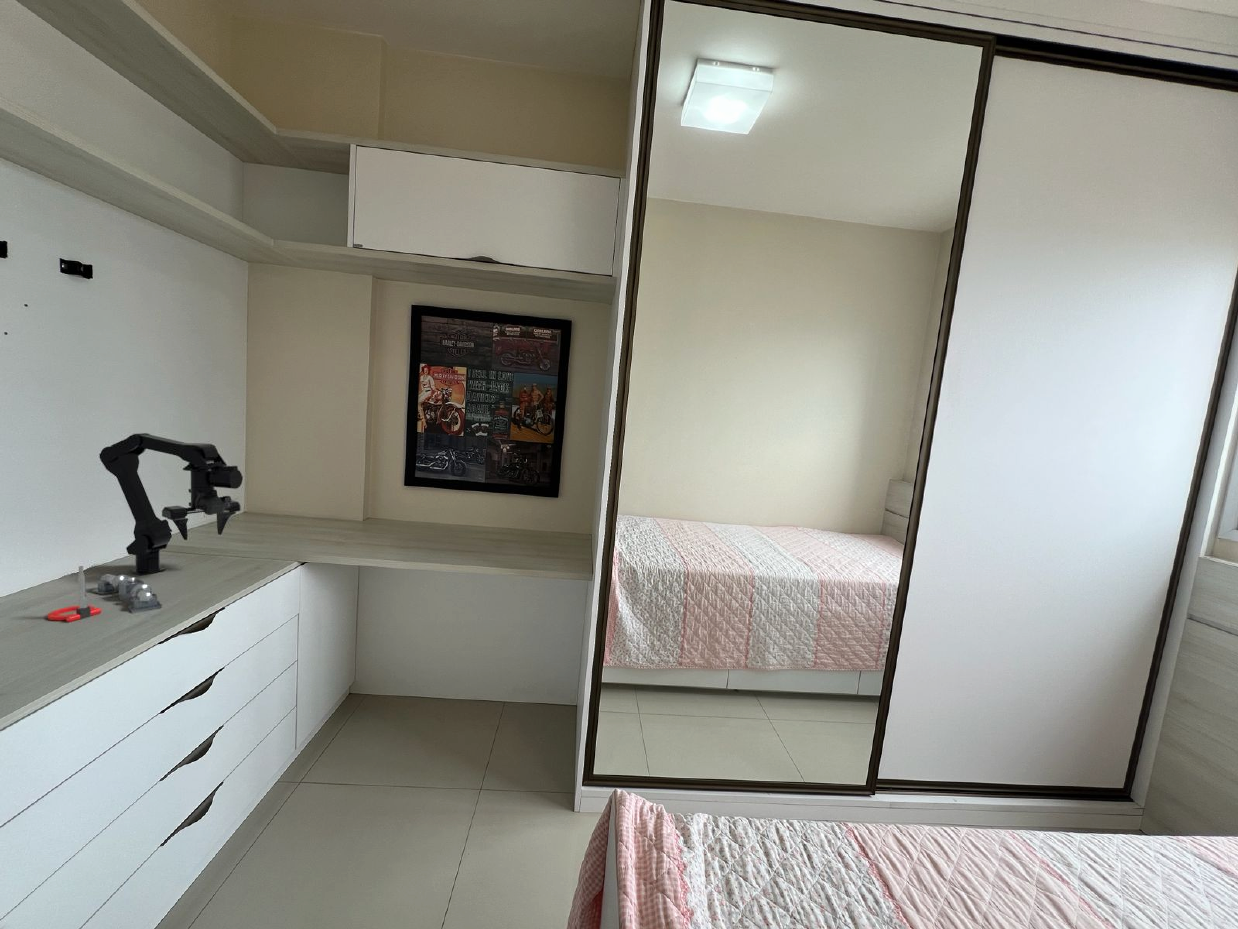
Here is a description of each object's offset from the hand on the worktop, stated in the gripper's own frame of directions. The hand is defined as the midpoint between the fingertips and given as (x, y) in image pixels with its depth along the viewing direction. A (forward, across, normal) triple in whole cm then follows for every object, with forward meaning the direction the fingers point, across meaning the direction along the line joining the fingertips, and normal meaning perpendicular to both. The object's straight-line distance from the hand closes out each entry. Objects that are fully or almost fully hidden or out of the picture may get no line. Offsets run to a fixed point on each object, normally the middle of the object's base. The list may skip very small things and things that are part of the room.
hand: (203, 537), depth 173 cm
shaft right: (+12, -21, -14) cm, 28 cm away
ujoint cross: (+12, -20, -6) cm, 24 cm away
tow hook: (+12, -33, -9) cm, 36 cm away
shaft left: (+12, -21, +2) cm, 24 cm away
